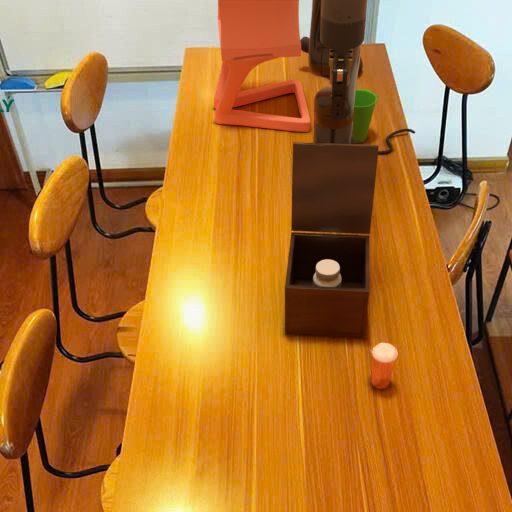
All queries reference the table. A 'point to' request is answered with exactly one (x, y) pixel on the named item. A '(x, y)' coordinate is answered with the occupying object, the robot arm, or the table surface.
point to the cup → (363, 113)
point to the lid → (333, 187)
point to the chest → (327, 298)
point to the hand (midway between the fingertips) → (337, 109)
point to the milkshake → (383, 364)
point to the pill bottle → (327, 274)
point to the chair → (257, 60)
